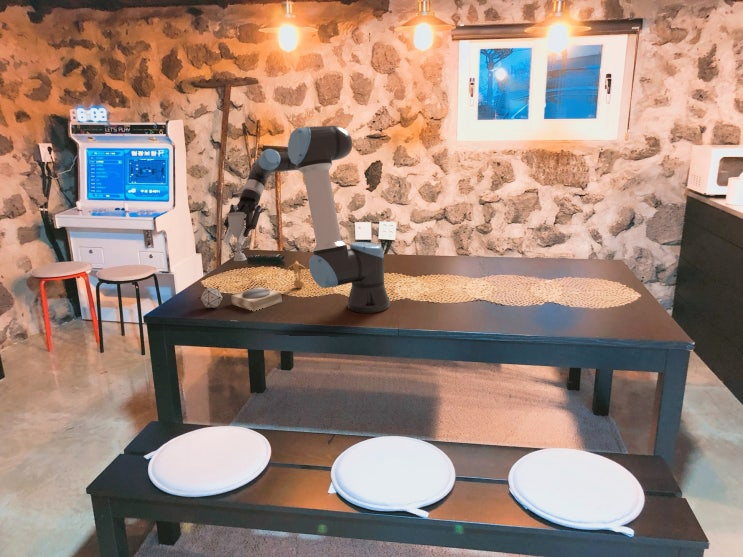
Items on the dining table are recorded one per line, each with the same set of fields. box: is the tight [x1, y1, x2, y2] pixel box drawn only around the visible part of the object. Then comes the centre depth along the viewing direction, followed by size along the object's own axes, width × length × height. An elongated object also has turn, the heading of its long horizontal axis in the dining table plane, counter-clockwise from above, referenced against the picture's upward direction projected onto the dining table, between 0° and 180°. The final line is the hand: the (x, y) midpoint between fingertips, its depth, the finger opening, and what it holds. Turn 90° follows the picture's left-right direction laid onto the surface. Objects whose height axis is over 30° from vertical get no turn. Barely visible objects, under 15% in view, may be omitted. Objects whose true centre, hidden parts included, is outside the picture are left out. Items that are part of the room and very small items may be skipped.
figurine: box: [286, 260, 309, 289], centre depth 235 cm, size 8×6×12 cm
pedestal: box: [231, 286, 283, 312], centre depth 221 cm, size 13×13×4 cm
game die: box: [197, 285, 226, 310], centre depth 216 cm, size 9×8×10 cm
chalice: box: [226, 212, 248, 262], centre depth 230 cm, size 7×7×18 cm
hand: (233, 243), depth 227 cm, fingers closed on chalice, 6 cm apart
